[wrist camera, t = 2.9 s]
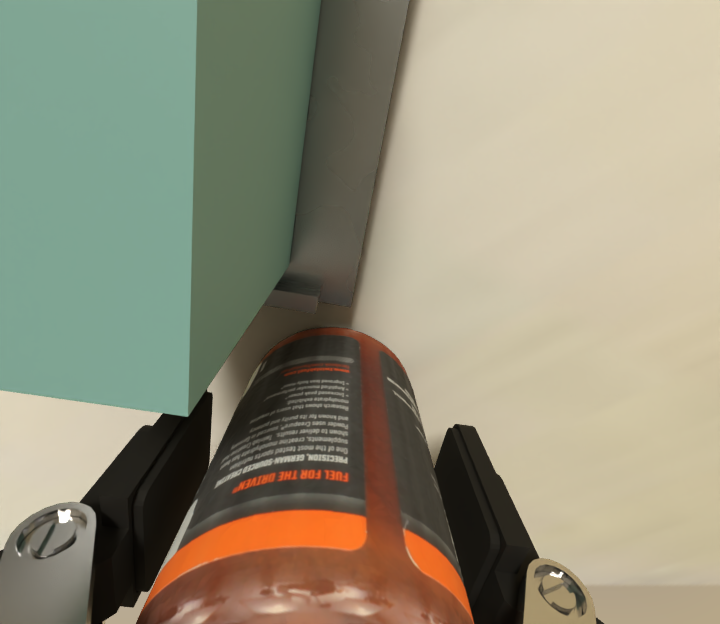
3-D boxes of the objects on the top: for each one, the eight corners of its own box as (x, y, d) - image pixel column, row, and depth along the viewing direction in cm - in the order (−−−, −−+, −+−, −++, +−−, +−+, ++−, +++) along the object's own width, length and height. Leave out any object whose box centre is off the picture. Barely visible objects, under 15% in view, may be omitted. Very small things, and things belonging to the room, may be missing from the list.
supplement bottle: (219, 381, 14) (-237, 1099, 3) (345, 287, 12) (288, 969, 2) (322, 477, 15) (251, 1144, 5) (441, 404, 14) (692, 1090, 4)
